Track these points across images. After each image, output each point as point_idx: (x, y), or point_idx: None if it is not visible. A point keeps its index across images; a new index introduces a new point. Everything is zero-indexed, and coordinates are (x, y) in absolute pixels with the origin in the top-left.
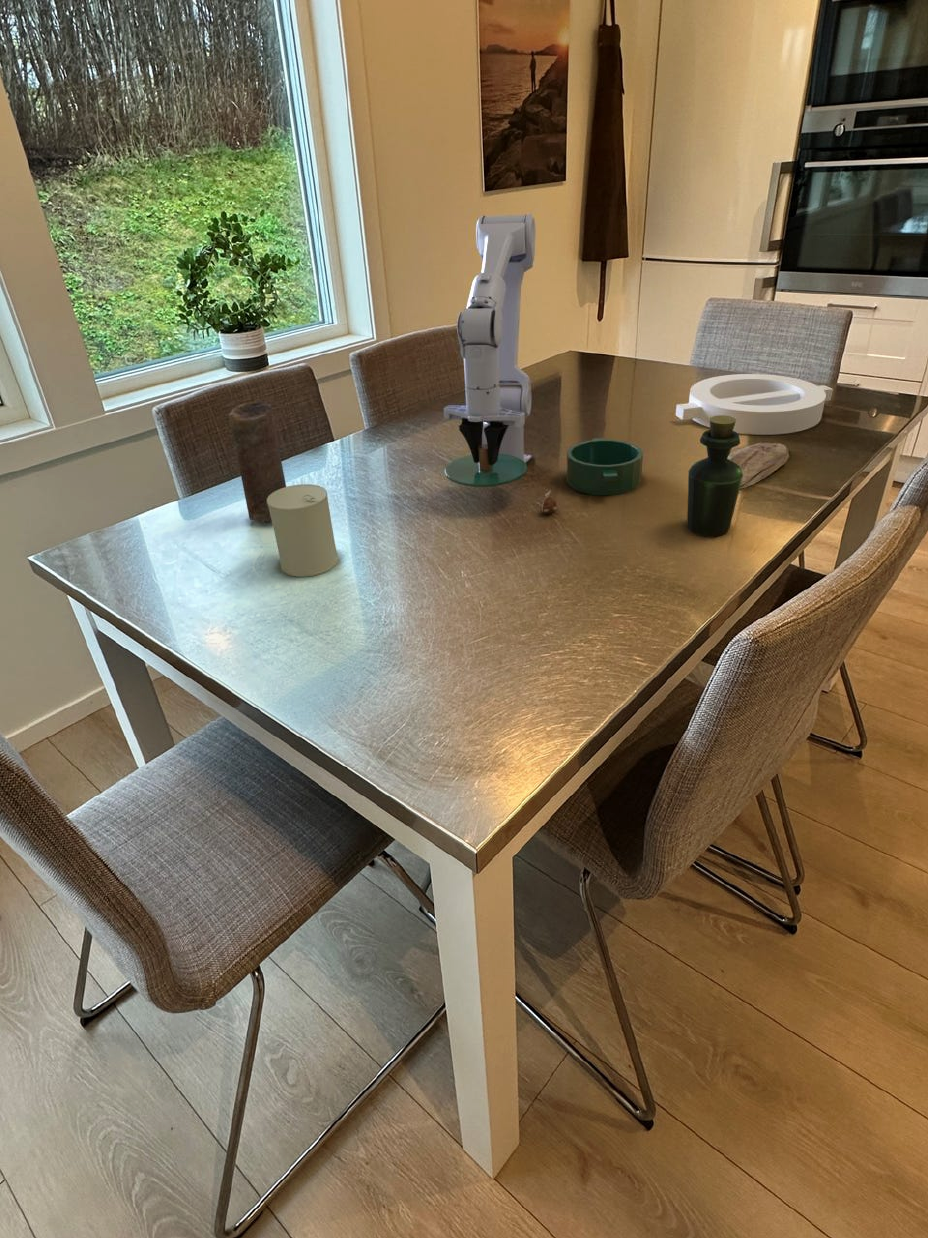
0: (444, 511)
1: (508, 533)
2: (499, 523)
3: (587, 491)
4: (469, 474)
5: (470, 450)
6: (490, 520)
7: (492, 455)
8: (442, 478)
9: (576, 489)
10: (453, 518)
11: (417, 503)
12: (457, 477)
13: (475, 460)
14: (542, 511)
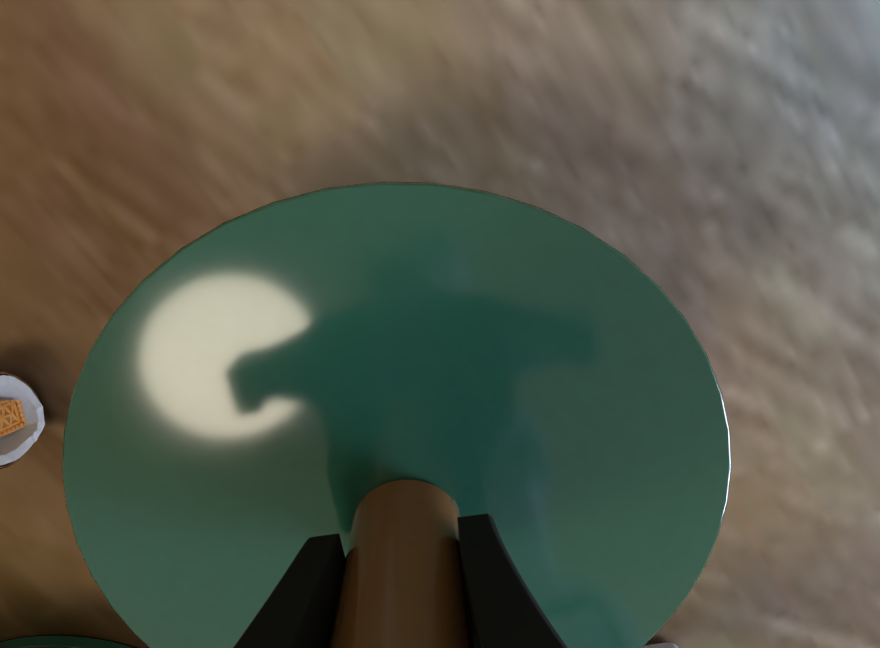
0: (538, 149)
1: (2, 73)
2: (148, 170)
3: (33, 645)
4: (447, 364)
5: (532, 599)
6: (220, 179)
7: (257, 616)
8: (756, 485)
9: (103, 643)
10: (431, 89)
11: (749, 165)
12: (508, 261)
13: (470, 527)
14: (7, 375)
